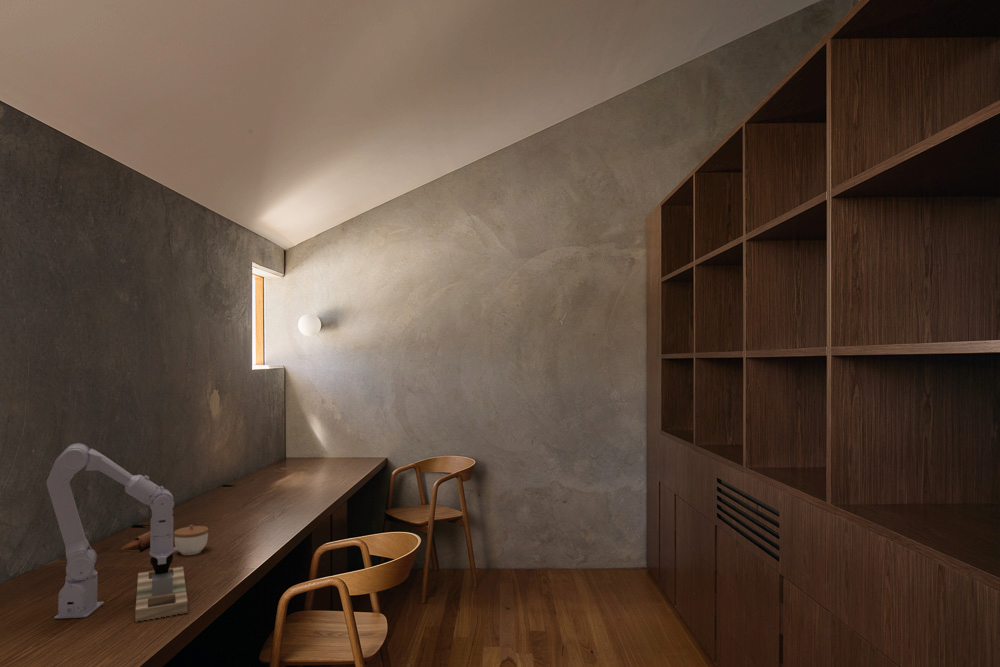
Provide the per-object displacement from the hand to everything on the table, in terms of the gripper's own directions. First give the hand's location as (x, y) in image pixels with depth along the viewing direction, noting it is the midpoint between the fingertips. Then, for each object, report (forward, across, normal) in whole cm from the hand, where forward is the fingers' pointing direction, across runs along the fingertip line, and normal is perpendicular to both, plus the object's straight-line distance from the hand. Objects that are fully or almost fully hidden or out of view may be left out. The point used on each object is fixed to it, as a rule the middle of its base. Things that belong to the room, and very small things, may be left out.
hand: (161, 582), depth 182 cm
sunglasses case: (+5, +59, +5) cm, 60 cm away
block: (+1, -4, 0) cm, 4 cm away
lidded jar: (+4, +40, -9) cm, 42 cm away
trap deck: (+4, 0, 0) cm, 4 cm away
